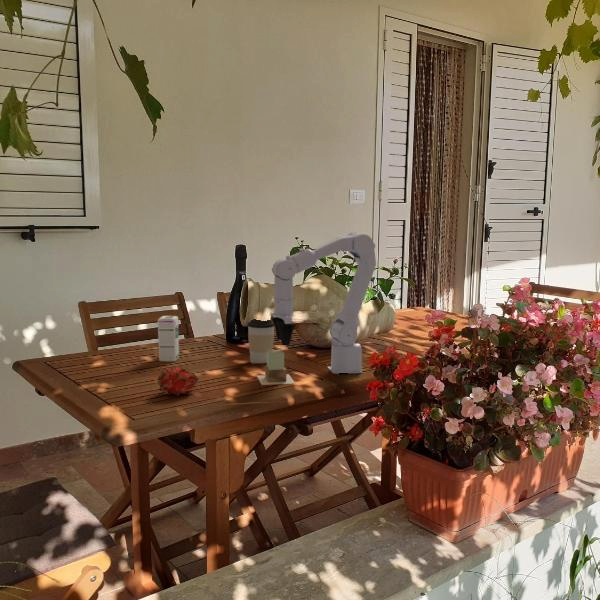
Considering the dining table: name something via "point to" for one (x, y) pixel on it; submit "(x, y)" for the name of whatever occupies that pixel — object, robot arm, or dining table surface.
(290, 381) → the stone tile
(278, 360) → the sage block
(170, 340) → the syrup box
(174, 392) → the dragon fruit
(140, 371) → the dining table surface
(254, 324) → the coffee cup
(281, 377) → the walnut block
